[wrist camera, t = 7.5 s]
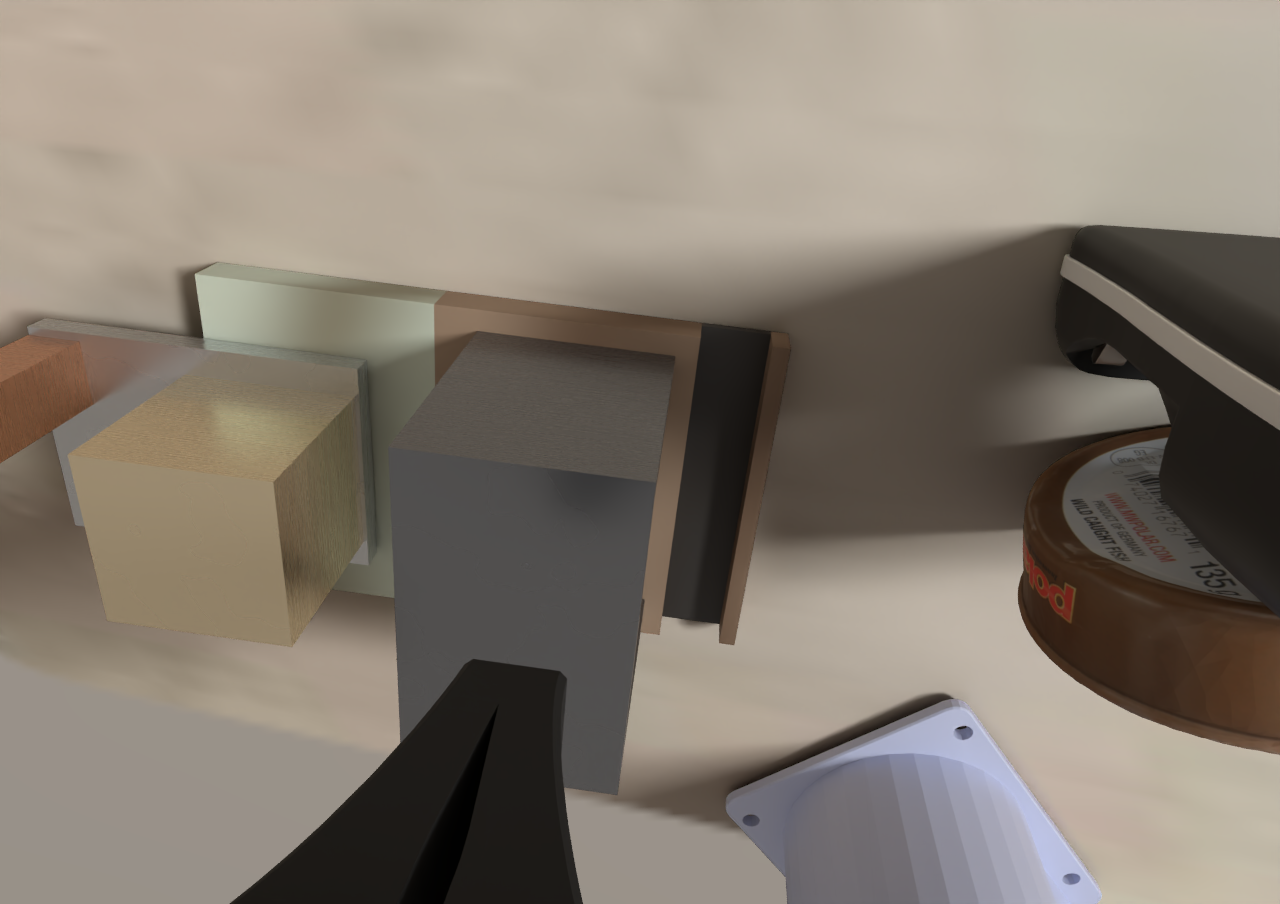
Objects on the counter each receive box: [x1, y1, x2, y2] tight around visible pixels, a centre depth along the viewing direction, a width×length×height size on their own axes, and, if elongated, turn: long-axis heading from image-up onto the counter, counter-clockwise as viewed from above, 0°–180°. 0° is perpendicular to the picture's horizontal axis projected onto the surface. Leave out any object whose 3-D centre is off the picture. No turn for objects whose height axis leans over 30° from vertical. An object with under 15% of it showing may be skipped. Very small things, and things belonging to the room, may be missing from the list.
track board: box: [195, 262, 791, 645], centre depth 22 cm, size 14×8×1 cm, turn 84°
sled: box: [0, 318, 377, 647], centre depth 18 cm, size 8×5×8 cm
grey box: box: [388, 331, 675, 795], centre depth 19 cm, size 4×7×6 cm, turn 174°
